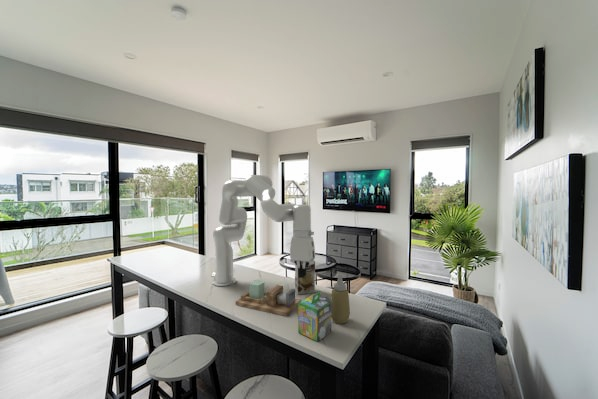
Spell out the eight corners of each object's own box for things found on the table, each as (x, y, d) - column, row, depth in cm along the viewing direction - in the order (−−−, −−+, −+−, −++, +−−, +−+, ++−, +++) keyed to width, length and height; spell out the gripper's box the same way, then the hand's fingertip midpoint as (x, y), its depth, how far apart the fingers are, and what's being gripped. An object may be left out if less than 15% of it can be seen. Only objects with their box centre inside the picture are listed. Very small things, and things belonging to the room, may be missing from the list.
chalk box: (312, 323, 99) (312, 285, 99) (332, 331, 93) (332, 291, 93) (297, 333, 92) (297, 292, 92) (317, 343, 86) (317, 299, 86)
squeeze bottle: (347, 315, 105) (347, 272, 105) (352, 325, 97) (352, 279, 97) (328, 315, 105) (328, 272, 104) (331, 325, 97) (331, 279, 96)
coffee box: (297, 294, 126) (297, 262, 125) (294, 289, 132) (294, 259, 132) (315, 292, 128) (315, 261, 128) (311, 288, 135) (311, 257, 134)
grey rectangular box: (267, 302, 112) (267, 290, 112) (274, 297, 118) (274, 285, 118) (289, 307, 108) (289, 294, 108) (295, 301, 114) (295, 289, 113)
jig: (235, 304, 115) (235, 288, 115) (253, 293, 128) (253, 278, 127) (286, 316, 104) (286, 298, 104) (300, 302, 117) (300, 286, 117)
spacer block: (249, 298, 117) (249, 283, 117) (255, 294, 122) (255, 280, 121) (258, 300, 115) (258, 285, 115) (264, 296, 120) (264, 281, 119)
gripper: (321, 233, 108) (322, 276, 109) (290, 231, 114) (290, 272, 115) (315, 236, 101) (315, 282, 102) (282, 234, 108) (282, 277, 108)
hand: (302, 276), depth 108 cm, fingers closed
